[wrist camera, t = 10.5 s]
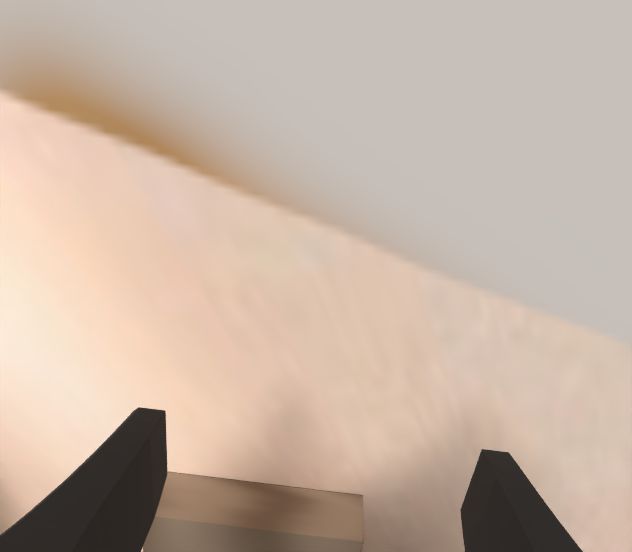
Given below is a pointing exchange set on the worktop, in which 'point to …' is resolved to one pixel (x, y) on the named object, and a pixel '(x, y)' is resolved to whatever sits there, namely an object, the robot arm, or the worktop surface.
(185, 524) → the base board
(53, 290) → the worktop surface
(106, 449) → the robot arm
